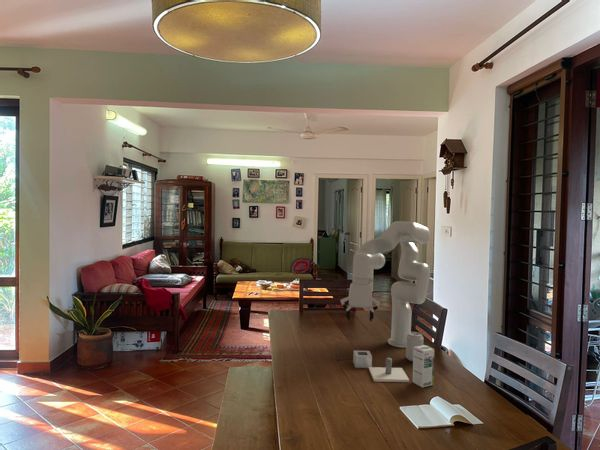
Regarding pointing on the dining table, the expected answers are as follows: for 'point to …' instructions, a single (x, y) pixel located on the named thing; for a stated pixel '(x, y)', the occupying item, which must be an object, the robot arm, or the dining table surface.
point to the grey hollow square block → (362, 359)
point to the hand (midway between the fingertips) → (359, 320)
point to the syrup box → (423, 365)
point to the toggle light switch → (388, 373)
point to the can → (413, 343)
